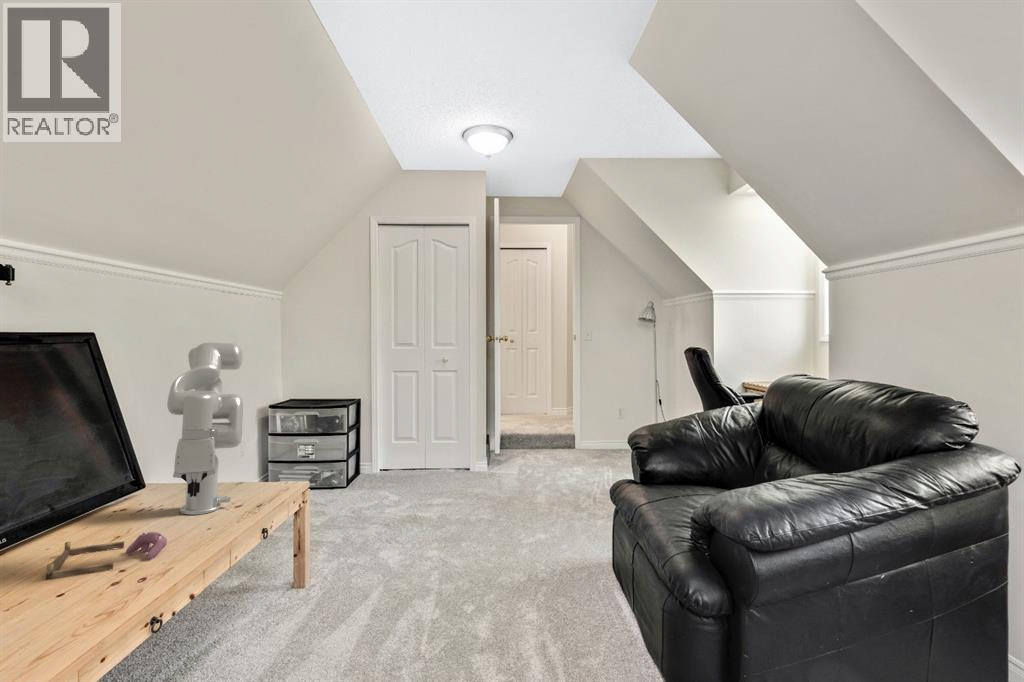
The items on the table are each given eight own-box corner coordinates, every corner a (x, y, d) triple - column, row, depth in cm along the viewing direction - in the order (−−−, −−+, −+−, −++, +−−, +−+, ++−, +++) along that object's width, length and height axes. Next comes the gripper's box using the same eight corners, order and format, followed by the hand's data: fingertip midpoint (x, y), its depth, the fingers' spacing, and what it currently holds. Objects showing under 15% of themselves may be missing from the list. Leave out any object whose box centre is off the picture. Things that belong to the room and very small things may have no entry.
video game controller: (161, 561, 137) (173, 536, 140) (146, 560, 133) (159, 533, 136) (137, 555, 140) (149, 530, 143) (122, 553, 136) (135, 528, 140)
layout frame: (123, 546, 142) (124, 534, 142) (112, 569, 128) (113, 556, 128) (64, 554, 135) (65, 542, 135) (45, 579, 121) (46, 566, 121)
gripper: (225, 431, 151) (222, 489, 151) (167, 433, 144) (164, 495, 143) (225, 435, 145) (222, 496, 144) (165, 437, 137) (161, 502, 137)
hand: (193, 495), depth 144 cm, fingers closed
